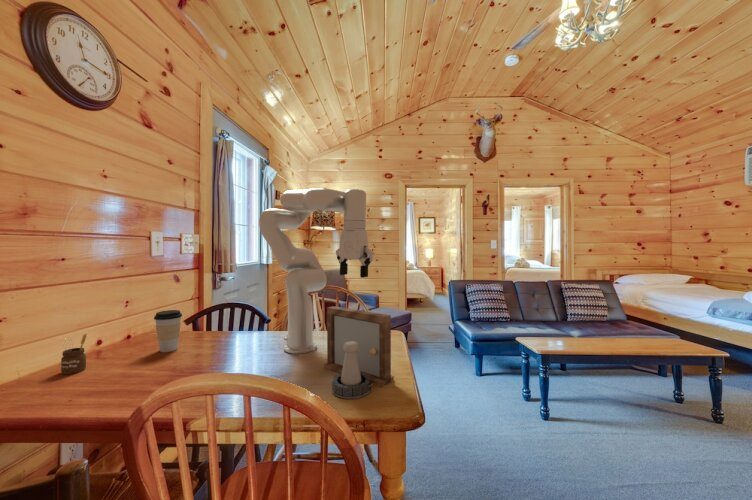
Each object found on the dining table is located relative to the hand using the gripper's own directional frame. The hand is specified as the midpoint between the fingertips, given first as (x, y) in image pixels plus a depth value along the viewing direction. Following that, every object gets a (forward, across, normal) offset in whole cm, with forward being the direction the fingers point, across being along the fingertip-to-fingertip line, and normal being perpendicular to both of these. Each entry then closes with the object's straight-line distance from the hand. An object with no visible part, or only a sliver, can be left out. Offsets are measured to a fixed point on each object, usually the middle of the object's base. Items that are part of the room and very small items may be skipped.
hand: (353, 275), depth 107 cm
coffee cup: (+33, -66, -35) cm, 82 cm away
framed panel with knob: (+30, +8, -5) cm, 32 cm away
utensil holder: (+33, -66, -62) cm, 97 cm away
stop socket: (+30, +14, -14) cm, 36 cm away
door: (+29, +8, -6) cm, 30 cm away
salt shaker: (+30, +14, -14) cm, 36 cm away
